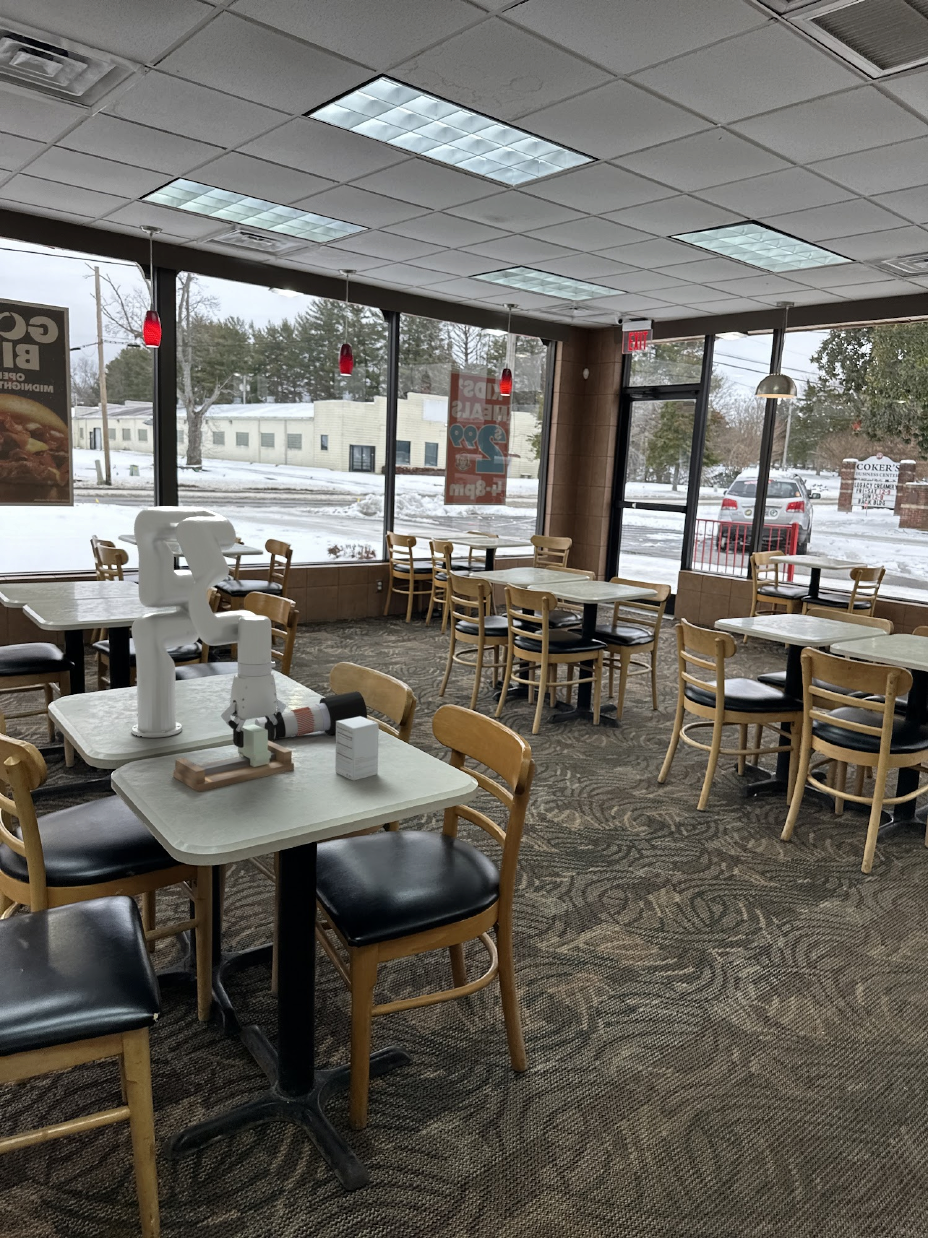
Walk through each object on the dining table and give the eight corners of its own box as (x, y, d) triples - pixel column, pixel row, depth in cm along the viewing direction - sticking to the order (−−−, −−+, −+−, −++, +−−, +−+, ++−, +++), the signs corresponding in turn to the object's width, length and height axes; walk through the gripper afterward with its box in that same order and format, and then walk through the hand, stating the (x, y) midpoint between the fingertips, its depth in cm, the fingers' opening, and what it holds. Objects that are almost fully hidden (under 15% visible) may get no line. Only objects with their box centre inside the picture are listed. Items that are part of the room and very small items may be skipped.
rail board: (173, 776, 194) (173, 758, 193) (266, 756, 211) (267, 739, 210) (198, 791, 186) (198, 772, 185) (293, 769, 202) (294, 752, 201)
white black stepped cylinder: (238, 757, 223) (230, 720, 225) (359, 730, 239) (350, 695, 241) (246, 750, 214) (237, 711, 216) (370, 723, 230) (361, 687, 232)
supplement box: (359, 766, 206) (361, 715, 204) (378, 775, 201) (379, 722, 199) (334, 772, 201) (335, 720, 199) (352, 781, 196) (353, 727, 194)
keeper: (237, 758, 203) (237, 725, 201) (253, 755, 205) (253, 723, 204) (255, 767, 197) (255, 734, 196) (270, 764, 200) (270, 731, 198)
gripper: (278, 662, 206) (278, 733, 209) (211, 670, 194) (212, 746, 197) (295, 667, 201) (295, 740, 204) (228, 677, 189) (228, 754, 192)
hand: (254, 742), depth 200 cm, fingers open, 7 cm apart
